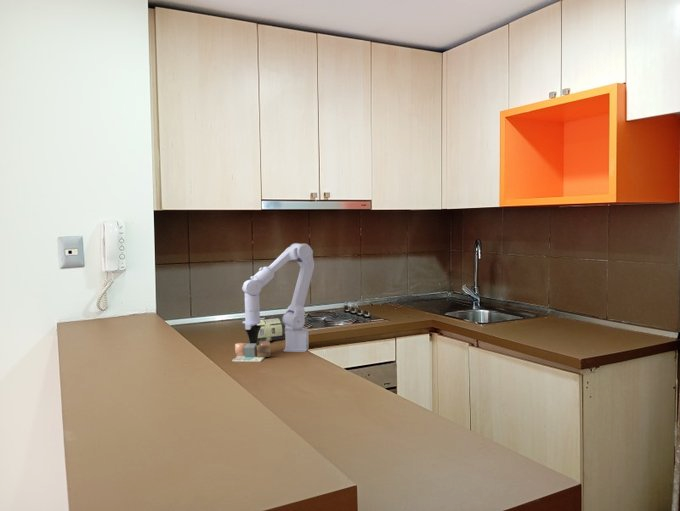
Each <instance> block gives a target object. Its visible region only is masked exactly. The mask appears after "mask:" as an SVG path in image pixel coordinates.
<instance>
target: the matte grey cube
mask: <svg viewBox="0 0 680 511" xmlns="http://www.w3.org/2000/svg"><path fill="white" fill-rule="evenodd" d="M257 344H258V343H250V342H249V343H246V345H245V347H244V354H245V357H255V356H256V346H258V345H257Z"/></svg>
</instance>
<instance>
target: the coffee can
mask: <svg viewBox="0 0 680 511" xmlns="http://www.w3.org/2000/svg"><path fill="white" fill-rule="evenodd" d="M260 321H261V323H260V324H257V325H261V328H260V330H259V333H258V339H257V344H259V342H260V341H272V342H274V341H273V340H275V341H280V340H281V341H283V340H284V339H285V324H284V322H283V318H281V317H278V318H268V319H260ZM246 335H247V339H248V341H249V337H248V334H247V333H246Z"/></svg>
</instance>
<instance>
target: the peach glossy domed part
mask: <svg viewBox="0 0 680 511" xmlns="http://www.w3.org/2000/svg"><path fill="white" fill-rule="evenodd" d="M246 344H247V343H246V342H237V343H235V344H234V353H235V357H237V356H238V357H242V356H245V354H244V347H245V345H246Z"/></svg>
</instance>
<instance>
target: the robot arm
mask: <svg viewBox="0 0 680 511" xmlns="http://www.w3.org/2000/svg"><path fill="white" fill-rule="evenodd" d="M313 253H314V250H313V249H312V247H311V246H310V245H309V244H308V243H299V242H294V243H292V244H290V246H288V247H287V248H286V249H285V250H284V251H282V253H281V254H280V255H279V256H277V257H276V259H275V260H274V261H273V262H272V263H271V264H270V265H269V266H263V267H259V269H258V271H257V272H256V273H255V274H254V275H251V276H250V277H249V278H250V279H248V280H245V281H244V282H243V284H242V286H241V289H242V290H241V291H243V293H244V314H245V315H244V316H245V319H244V320H243V321H242V324H244V330H245V332H246V335H247V334H248V336H247V338H248V337H249V340H248V342H249V341H250V342H249V343H257V339H258V333H259V330H260V328H261V325H257V324H260V323H261V321H260V320H261V313H260V312H261V311H260V293H261V291H262V289H263V288H264V286H266V285H267V284H268V283H269V282H271V280H272V279H273V278H274V277H275V273H276V272H277V271H278V270H279V269H281V268H282V267H283V266H285V265H286V264H287V263H288V262H290V261H296V262H297V264H298V265H299V267H300V268H299V272H298V277H297V281H296V284H295V288H294V291H293V295H292V300H291V303H290V304H289V305H288V307H287V310H286V311H285V312H284V314H283V316H282V321H283V323H284V328H285V336H284V339H285V340H284V341H285V344H284V345H285V348H284V349H282V352H283V351H284V352H288V353H290V352H293V353H295V352H296V353H297V352H298V353H303V352H304V353H306V352H307V350H309V347H310V346H309V345H310V343H309V341H310V340H309V338H310V337H309V336H310V335H309V329H308V328H304V326H305V323H306V319H305V317H306V316H305V315H306V312H305V307H304V306H305V303H306V298H307V296H308V292H309V288H310V284H311V280H312V278H313V277H312V276H313V273H314V269H315V261H314V256H313V255H314V254H313ZM257 344H258V343H257Z"/></svg>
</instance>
